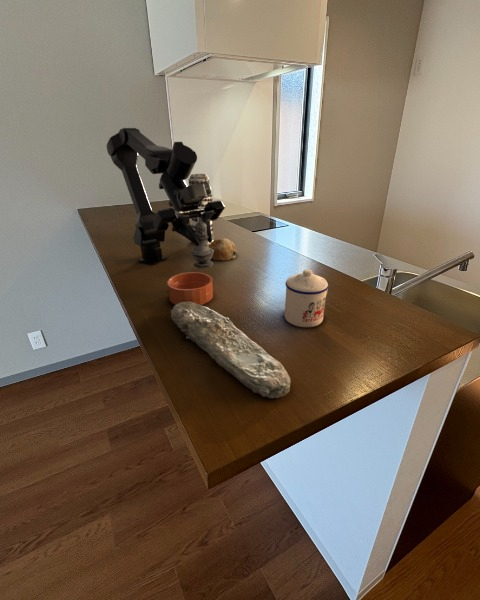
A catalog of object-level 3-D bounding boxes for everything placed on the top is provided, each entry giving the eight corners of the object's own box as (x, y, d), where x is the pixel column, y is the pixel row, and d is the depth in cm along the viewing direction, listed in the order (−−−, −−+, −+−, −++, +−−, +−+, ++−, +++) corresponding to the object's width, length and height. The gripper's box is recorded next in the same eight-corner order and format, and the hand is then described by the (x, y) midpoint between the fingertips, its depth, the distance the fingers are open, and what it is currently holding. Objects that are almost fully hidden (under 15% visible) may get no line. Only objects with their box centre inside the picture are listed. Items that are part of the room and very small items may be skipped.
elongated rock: (259, 420, 48) (303, 393, 54) (262, 394, 46) (308, 369, 52) (159, 317, 72) (197, 306, 78) (157, 297, 70) (197, 287, 75)
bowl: (160, 301, 81) (157, 283, 78) (189, 285, 89) (187, 269, 87) (194, 313, 75) (192, 294, 73) (221, 294, 84) (220, 277, 81)
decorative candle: (186, 242, 125) (180, 174, 114) (203, 237, 131) (199, 172, 120) (202, 247, 120) (197, 176, 108) (219, 241, 126) (216, 174, 114)
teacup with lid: (305, 333, 67) (310, 283, 62) (275, 316, 73) (277, 269, 68) (339, 315, 74) (347, 268, 68) (309, 301, 80) (313, 257, 75)
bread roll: (227, 271, 107) (237, 251, 103) (200, 257, 107) (208, 237, 103) (233, 261, 116) (242, 242, 112) (208, 248, 115) (216, 229, 111)
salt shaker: (188, 267, 82) (184, 220, 76) (196, 259, 87) (193, 215, 81) (210, 269, 80) (208, 222, 75) (217, 261, 85) (215, 216, 80)
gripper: (151, 173, 70) (182, 233, 68) (219, 167, 81) (247, 219, 79) (141, 204, 79) (168, 258, 77) (203, 195, 90) (228, 242, 88)
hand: (204, 243), depth 80 cm, fingers closed on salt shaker, 3 cm apart
